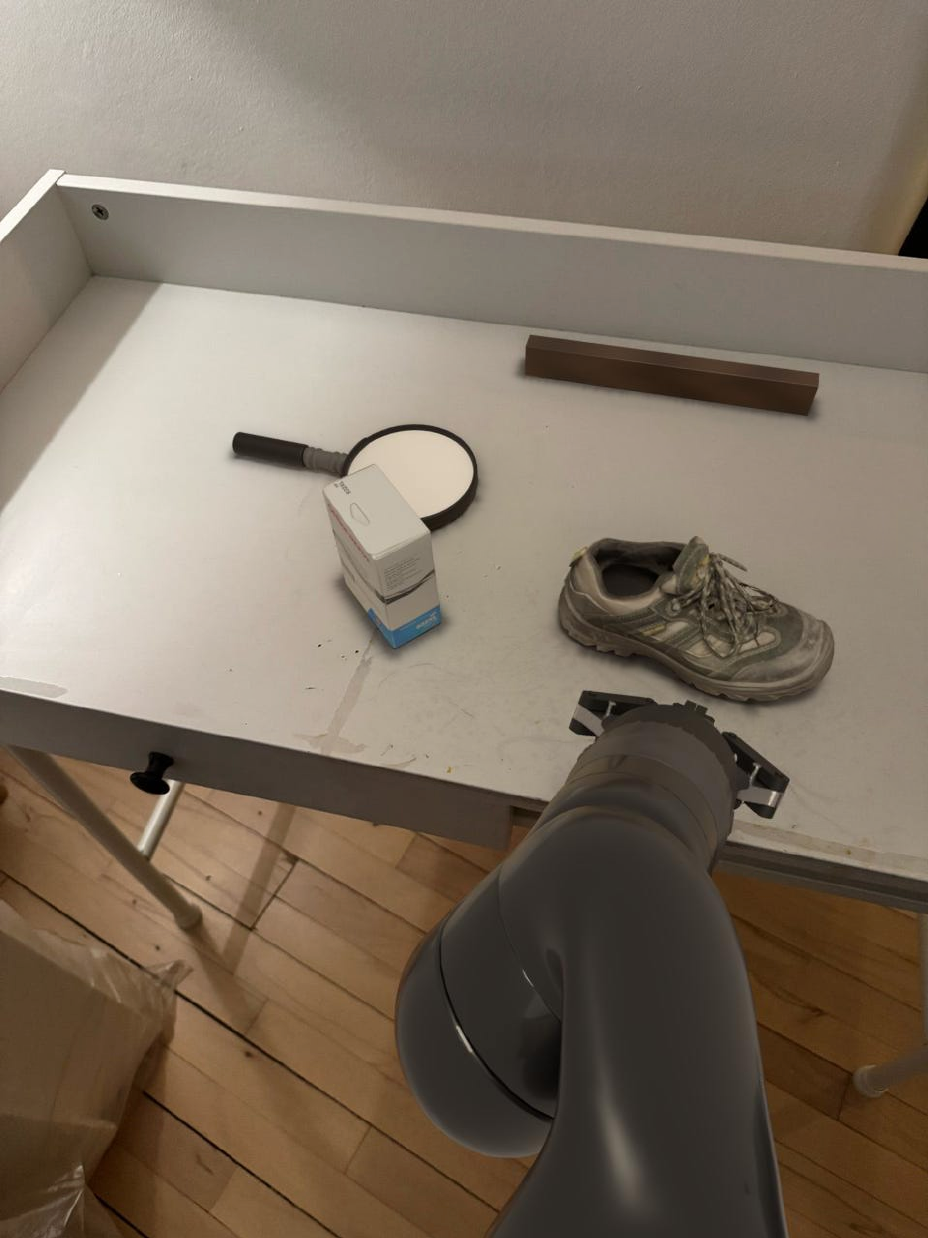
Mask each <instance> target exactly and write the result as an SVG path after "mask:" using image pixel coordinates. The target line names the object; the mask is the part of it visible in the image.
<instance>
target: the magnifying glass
mask: <svg viewBox="0 0 928 1238" xmlns="http://www.w3.org/2000/svg"><path fill="white" fill-rule="evenodd" d="M231 448H232V451H233V452H234V454H235V455H239V456H244V457H250V458H253V459H260V460H265V461H268V462H269V461H270V462H275V463H278V464H286V465H289V466H295V467H300V468H306V467H307V468H314V469H316V470H319V469H323V470H328V471H331V472H333V473H339V474H340V478H343V477H345V476H347V475H349V474H352V473H354V472H356V471H358V470H361V469H363V468H365V467H368V466H370V465H372V464H376V465H377V466H378V467H379V468H380V470H381V471H382V472H383V473H384V474H385V476H386V477H387V478H388V479H389V481H390V482H391V483H392V484H393V485H394V487H395V488H396V489H397V490H398V492H399V493H400V494H401V495H402V497H403V498H404V499H405V500H406V502H407V503H408V504H409V505H410V507H411V508H412V509H413V510H414V512H415V513H416V514H417V515H418V517H419V518H420V519H421V520H422V522H423V523H424V524H425V525H426V527H427V528H428V529H429V530H430V531H431V530H433V529H436V528H439V527H442V526H443V525H445V524H448V523H450V522H451V521H453V520H454V519H456V518H457V517H458V516H459V515H461V514H462V513H464V511H465V510H466V509H467V508H468V507H469V505H470V504H471V503H472V501H473V499H474V497H475V494H476V491H477V488H478V483H479V477H478V476H479V475H478V474H479V473H478V463H477V459H476V456H475V454H474V451H473V449H471V446H469V444H468V443H467V442H466V441H465V440H463V438H461V437H460V436H459V435H457V434H456V433H453V432H452V431H450V430H447V429H445V428H442V427H439V426H435V425H430V424H423V423H409V424H399V425H394V426H390V427H387V428H384V429H381V430H379V431H377V432H375V433H372V434H370V435H369V436H366V437H363V438H362V439H360V440H359V441H358V442H357V443H356V444H355V445H354V446H353V447H352V448H351V449H350V451H349V452H348V453H347V452H340V451H338V450H337V451H328V450H324V449H323V448H322V447H321V448H320V447H317V448H316V447H315V446H310V445H309V444H306V443H301V442H296V441H291V440H285V439H280V438H275V437H269V436H264V435H259V434H254V433H249V432H243V431H237V432H236V433H235V434H234V435H233V438H232V441H231Z"/></svg>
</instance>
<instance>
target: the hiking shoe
mask: <svg viewBox="0 0 928 1238" xmlns="http://www.w3.org/2000/svg"><path fill="white" fill-rule="evenodd" d="M723 561H724V562H723ZM724 563H728V564H730V565H731V566H733V567H735V568H737V569H740V570H741V571H743V572H745V573H747V572H748V567H746V566H744V565H743V564H741V563H740V562H738V561H736V560H735V559H733V558H730V557H728V556H726V555H724V554H722V553H716V552H710V549H709V545H708V544H706V542H705V540H704V539H703V538H702V537H701V536H700V537H699V536H698V535H695V536H693V537H692V538H690V539H689V541H688V542H680V541H666V540H661V541H632V540H624V539H618V538H612V537H602V538H600V539H598V540H596V541H593V542H591V543H590V545H589V546H584V547H582V548H581V549H580V550H579V551H577V552H574V554H573V556H572V558H571V561H570V563H569V566H568V567H569V568H570V569H569V571H568V572H567V575H566V576H565V578H564V580H563V581H564V582H563V584H564V585H563V586H562V588H561V590H560V593H559V598H558V603H557V604H558V605H557V607H558V608H557V609H558V610H557V611H558V612H557V613H558V616H559V621H560V622H561V625H562V627H563V628H564V629H566V630H568V636H570V637H571V638H573V639H575V640H576V641H578V642H580V643H581V644H583V645H584V646H586V647H591V646H596V650H597V651H600V652H602V653H606V652H611V651H613V653H614V655H617V656H620V657H623V658H624V657H625V658H627V657H629V656H631V655H633V654H636V655H643V656H646V657H650V658H651V659H653V660H655V661H657V662H659V663H661V664H663V665H664V666H666V667H667V668H668V669H670V670H672V671H673V672H674V673H675V674H676V675H677V677H678V678H679V679H680V680H682V681H683V682H685V684H687V685H691V684H693V685H694V687H696V689H698V690H700V691H703V692H705V693H707V694H711V695H714V696H719V695H721V694H724V695H725V696H726V697H728V698H729V699H730V700H735V701H743V702H746V701H748V699H754V700H755V701H758V702H759V701H760V702H761V701H762V702H763V701H777V700H778V699H780V698H781V697H785V696H796V695H799V694H801V693H803V691H806V690H807V691H808V690H810V689H812V688H814V686H816V685H818V684H819V683H820V682H822V680H823V679H824V677H825V676H826V675H827V674H828V673H829V671H830V670H831V667H832V665H833V661H834V657H835V638H834V633H833V630H832V628H831V626H830V625H829V624H828V623H827V622H826V621H825V620H823V619H820V618H817V617H815V616H814V615H813V614H811V613H809V612H806V611H804V610H802V609H800V608H797V607H796V606H794V605H791V604H789V603H786V602H783V601H781V600H780V599H779V598H778V597H776V596H774V594H772V593H769V592H768V591H766V590H763V589H761V588H759V587H757V586H756V585H752V584H748V583H746V582H744V581H742V580H739V579H738V578H737V577H736V576H734V575H732V574H731V573H730V571H728V570H727V568H726V567H723V566H724ZM728 580H729V581H728ZM729 582H730V583H731V584H732V586H733V587H732V586H731V584H730V583H729ZM747 588H748V589H749V590H751V591H754V592H756V593H758V594H760V595H750V593H748V592H747V591H746V590H745V589H747Z"/></svg>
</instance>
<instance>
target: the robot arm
mask: <svg viewBox="0 0 928 1238" xmlns="http://www.w3.org/2000/svg"><path fill="white" fill-rule="evenodd" d="M580 693H581V694H580V696H579V699H578V701H577V704H576V707H575V709H574V713H573V715H572V717H571V720H570V723H569V725H568V729H569V731H570V732H572V733H573V734H575V735H577V736H581V737H582V736H583V737H593V738H594V742H593V743H591V744H589V745H588V746H585V748H583V750H582V752H581V753H580V754H579V756H578V757H577V758H576V762H575V764H574V765H573V767H572V768H571V770H570V772H569V774H568V776H567V778H566V780H565V782H564V784H563V786H562V787H561V788H560V789H559V790H558V791H557V793H556V794H555V795H554V796H553V797H552V798H551V800H550V801H549V803H547V805H546V806H545V808H544V809H543V811H541V814H540V815H539V817H538V819H537V820H536V822H535V824H534V825H533V826H532V828H531V829H530V830H529V831H528V833H527V834H526V835H525V836H524V838H523V839H522V841H520V843H519V844H518V845H517V846H516V847H515V848H514V849H513V851H511V852H510V853H509V854H508V855H507V856H506V857H505V858H504V859H503V860H502V861H501V862H499V864H498V865H497V866H496V867H494V868H493V869H492V870H491V871H490V872H488V874H487V875H485V877H483V879H481V880H480V881H479V883H477V884H476V885H475V886H474V887H473V888H472V889H471V890H469V892H467V894H466V895H465V896H463V898H461V899H460V900H459V901H458V902H457V904H455V905H454V906H453V907H452V908H451V909H450V910H449V911H448V912H447V913H446V914H445V915H444V916H443V917H441V918H440V920H439V921H438V922H436V924H435V925H434V926H433V927H432V928H431V929H429V931H428V932H427V933H426V934H425V935H424V936H423V937H422V938H421V939H420V941H419V942H418V943H417V945H416V946H415V947H414V949H413V950H412V952H411V954H410V955H409V957H408V959H407V961H406V963H405V966H404V968H403V970H402V973H401V976H400V979H399V983H398V987H397V991H396V995H395V1004H394V1014H393V1015H394V1018H393V1024H394V1025H393V1026H394V1027H393V1028H394V1041H395V1048H396V1054H397V1058H398V1059H397V1060H398V1062H399V1066H400V1070H401V1073H402V1075H403V1078H404V1080H405V1083H406V1086H407V1088H408V1090H409V1092H410V1094H411V1096H412V1097H413V1100H414V1101H415V1103H416V1104H417V1106H418V1107H419V1109H420V1110H421V1112H422V1113H423V1114H424V1116H425V1117H426V1118H427V1119H428V1120H429V1121H430V1123H431V1124H432V1125H433V1126H434V1127H435V1128H436V1129H437V1130H438V1131H440V1133H441V1134H443V1135H444V1136H445V1137H447V1138H448V1139H449V1140H450V1141H453V1142H454V1143H455V1144H457V1145H459V1146H461V1147H463V1148H465V1149H467V1150H470V1151H473V1152H475V1153H478V1154H480V1155H484V1156H488V1157H490V1158H497V1159H519V1158H527V1157H532V1156H536V1155H537V1156H536V1158H535V1160H534V1162H533V1163H532V1165H531V1166H530V1168H529V1169H528V1171H527V1172H526V1174H525V1175H524V1177H523V1178H522V1180H520V1182H519V1184H518V1185H517V1187H516V1188H515V1189H514V1191H513V1192H512V1194H511V1195H510V1197H509V1198H508V1199H507V1201H506V1202H505V1203H504V1205H503V1206H502V1207H501V1210H500V1211H499V1212H498V1213H497V1214H496V1216H495V1218H494V1219H493V1220H492V1222H491V1223H490V1225H489V1226H488V1228H487V1231H486V1232H485V1233H484V1236H483V1238H790V1237H789V1236H790V1235H789V1230H788V1225H787V1219H786V1212H785V1211H786V1210H785V1204H784V1195H783V1189H782V1181H781V1175H780V1167H779V1160H778V1155H777V1149H776V1144H775V1138H774V1137H775V1136H774V1132H773V1124H772V1120H771V1114H770V1107H769V1099H768V1093H767V1087H766V1079H765V1072H764V1063H763V1057H762V1050H761V1049H762V1048H761V1042H760V1036H759V1035H760V1034H759V1028H758V1021H757V1012H756V1006H755V1000H754V993H753V987H752V984H751V979H750V978H751V977H750V974H749V969H748V963H747V960H746V956H745V952H744V949H743V946H742V943H741V940H740V936H739V933H738V931H737V928H736V925H735V922H734V921H733V918H732V916H731V914H730V911H729V909H728V907H727V905H726V903H725V900H724V898H723V895H722V894H721V893H720V891H719V889H718V887H717V885H716V883H715V882H714V880H713V879H712V876H713V872H714V869H715V867H716V866H717V865H718V863H719V861H720V859H721V858H722V857H721V856H722V855H723V853H724V850H725V847H726V843H727V842H728V837H729V836H730V834H732V831H733V826H734V818H735V810H737V809H739V808H740V807H741V806H742V805H745V806H746V807H747V808H749V809H750V810H751V811H752V812H753V813H754V814H756V815H757V816H758V817H760V818H762V819H767V820H773V818H774V816H775V814H776V812H777V810H778V808H779V806H780V804H781V802H782V799H783V798H784V795H785V793H786V790H787V788H788V785H789V783H790V781H791V779H790V777H789V776H787V775H786V774H785V773H784V772H782V771H781V770H780V769H779V768H778V767H776V766H775V765H774V764H773V763H772V762H770V761H769V760H768V759H766V758H765V756H763V755H762V754H760V753H759V752H758V751H757V750H756V749H754V747H752V746H751V745H749V744H748V743H747V742H746V741H745V740H743V739H742V738H741V737H739V736H738V735H737V734H736V733H734V732H731V731H722V732H720V731H719V730H718V728H717V727H716V726H715V722H716V720H715V718H714V717H713V716H710V715H708V714H707V712H708V710H709V709H708V707H705V706H703V705H701V704H700V703H699V704H698V703H697V702H694V701H692V700H690V699H687V700H686V701H685V703H684V704H682V703H680V702H673V703H672V704H661V703H658V702H657V701H656V700H655V699H653V698H651V697H645V696H637V695H629V694H620V693H613V692H612V693H611V692H604V691H595V690H586V689H583V690H582V691H581V692H580ZM735 756H736V758H735Z"/></svg>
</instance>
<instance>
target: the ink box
mask: <svg viewBox="0 0 928 1238" xmlns="http://www.w3.org/2000/svg"><path fill="white" fill-rule="evenodd" d="M320 488H321V491H322V495H323V500H324V503H325V507H326V510H327V514H328V515H327V516H328V518H329V519H328V520H329V523H330V527H331V530H332V534H333V537H334V541H335V542H334V543H335V546H336V549H337V552H338V557H339V562H340V566H341V569H342V573H343V577H344V582H345V584H346V586H347V588H348V589H349V590H350V591H351V593H352V594H353V596H354V597H355V598H356V600H357V601H358V602H359V605H361V607H362V608H363V609H364V611H365V613H367V615H368V616H369V618H370V619H371V621H372V622H373V623H374V625H375V626H376V627H377V629H378V630H379V632H380V633H381V634H382V636H383V638H384V639H385V640H386V641H387V642H388V644H389V645H390V646H391V648H393V649H398V648H399V647H402V645H404V644H406V643H408V642H410V641H411V640H413V639H415V638H417V637H419V636H420V635H422V634H424V633H425V632H427V631H429V630H430V629H433V628H434V627H436V626H438V625H439V624H440V623H442V616H441V608H440V607H441V606H440V599H439V592H438V584H437V575H436V569H435V568H436V567H435V560H434V551H433V542H432V533H431V529H430V530H429V529H428V528H427V527H426V525H425V524H424V523H423V522H422V520H421V519H420V518H419V517H418V515H417V514H416V513H415V512H414V510H413V509H412V508H411V507H410V505H409V504H408V503H407V502H406V500H405V499H404V498H403V497H402V495H401V494H400V493H399V492H398V490H397V489H396V488H395V487H394V485H393V484H392V483H391V482H390V481H389V479H388V478H387V477H386V476H385V474H384V473H383V472H382V471H381V470H380V468H379V467H378V466H377V465H376V464H372V465H370V466H368V467H365V468H363V469H361V470H358V471H356V472H354V473H352V474H349V475H347V476H345V477H343V478H341V477H340V478H339V479H336V480H333V481H331V482H330V483H328V484H325V485H322V486H321V487H320Z"/></svg>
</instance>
